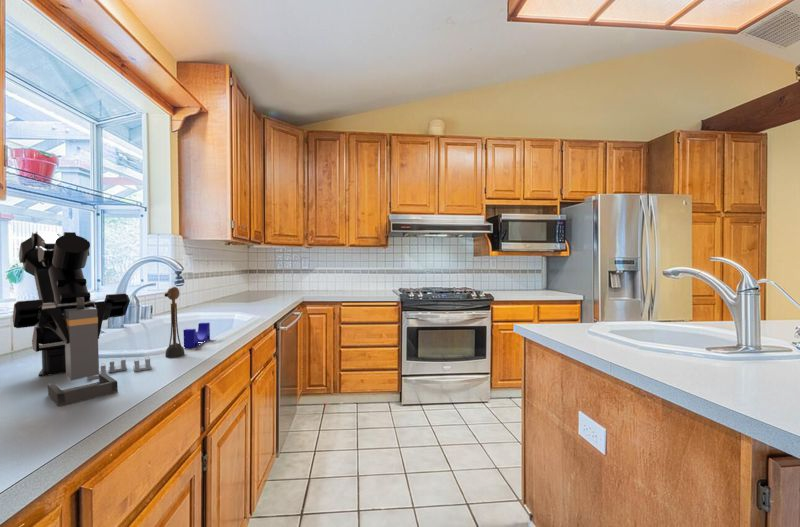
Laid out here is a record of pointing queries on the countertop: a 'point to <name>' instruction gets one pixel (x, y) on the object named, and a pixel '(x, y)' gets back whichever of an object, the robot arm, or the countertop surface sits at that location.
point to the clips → (123, 366)
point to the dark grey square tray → (83, 391)
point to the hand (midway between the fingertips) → (83, 340)
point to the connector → (81, 341)
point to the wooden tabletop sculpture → (174, 326)
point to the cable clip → (196, 335)
